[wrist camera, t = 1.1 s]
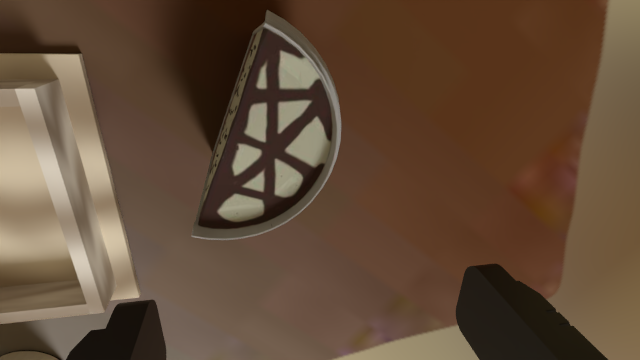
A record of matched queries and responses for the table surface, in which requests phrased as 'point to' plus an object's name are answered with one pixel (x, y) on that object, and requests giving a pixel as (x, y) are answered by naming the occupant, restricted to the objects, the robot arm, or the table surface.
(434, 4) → the table surface
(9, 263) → the holder
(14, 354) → the ice cream cone
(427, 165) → the table surface
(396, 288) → the table surface
